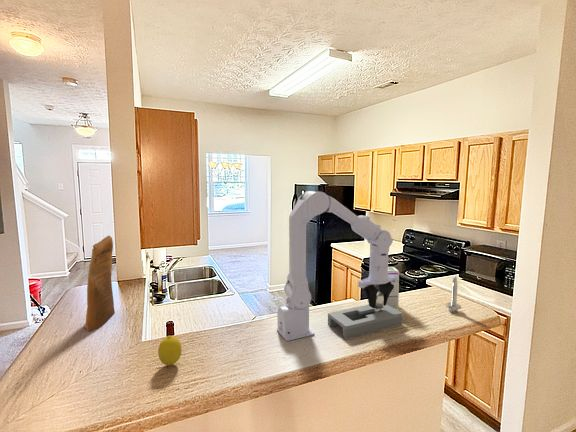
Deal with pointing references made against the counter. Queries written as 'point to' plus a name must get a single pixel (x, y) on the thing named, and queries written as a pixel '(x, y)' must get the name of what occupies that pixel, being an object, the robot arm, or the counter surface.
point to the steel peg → (379, 302)
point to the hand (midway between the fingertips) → (377, 305)
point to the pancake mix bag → (100, 285)
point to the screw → (454, 298)
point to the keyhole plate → (364, 320)
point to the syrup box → (394, 289)
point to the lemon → (169, 350)
